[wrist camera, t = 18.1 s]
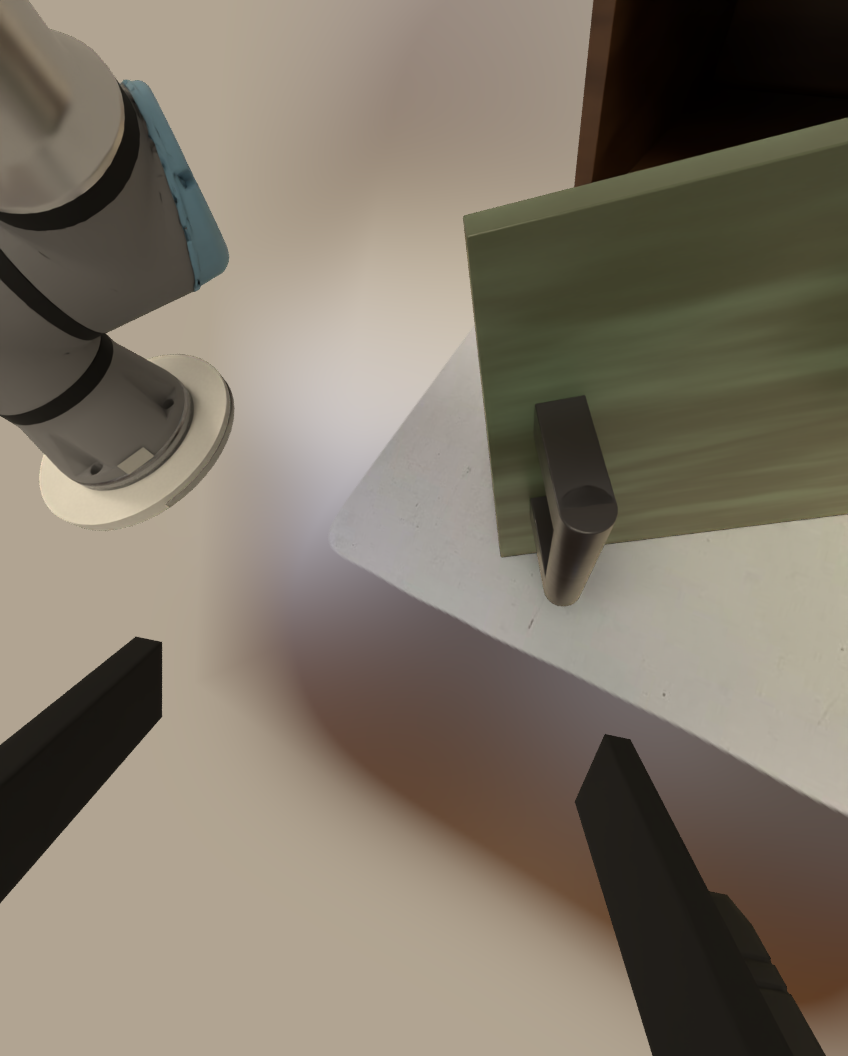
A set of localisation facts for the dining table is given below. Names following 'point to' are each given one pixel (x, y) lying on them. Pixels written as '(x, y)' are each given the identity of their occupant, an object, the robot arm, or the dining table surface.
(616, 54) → the cupboard
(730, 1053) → the robot arm
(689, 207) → the cupboard door
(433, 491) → the dining table surface
